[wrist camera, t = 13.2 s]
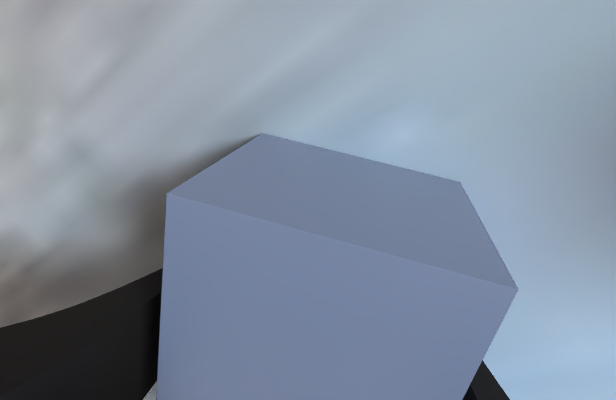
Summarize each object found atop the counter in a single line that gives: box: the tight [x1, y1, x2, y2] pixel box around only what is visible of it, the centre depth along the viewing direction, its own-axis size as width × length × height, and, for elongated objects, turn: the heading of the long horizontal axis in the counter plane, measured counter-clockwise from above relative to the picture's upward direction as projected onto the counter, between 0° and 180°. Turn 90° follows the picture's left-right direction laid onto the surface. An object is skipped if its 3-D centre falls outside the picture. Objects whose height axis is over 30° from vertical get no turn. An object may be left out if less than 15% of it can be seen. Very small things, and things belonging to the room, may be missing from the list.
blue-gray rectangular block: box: [156, 134, 518, 400], centre depth 10 cm, size 9×6×5 cm
